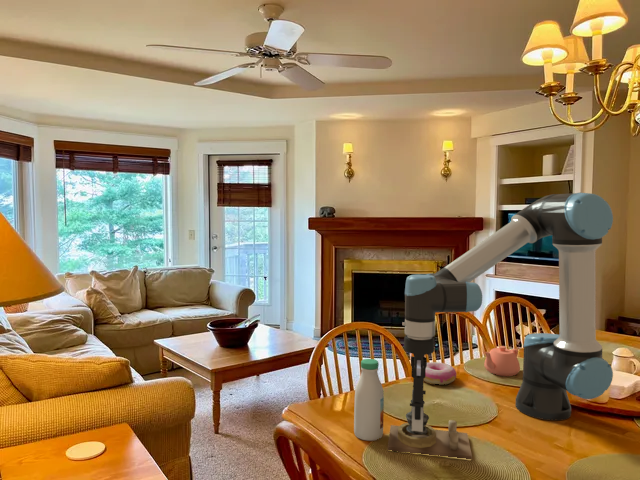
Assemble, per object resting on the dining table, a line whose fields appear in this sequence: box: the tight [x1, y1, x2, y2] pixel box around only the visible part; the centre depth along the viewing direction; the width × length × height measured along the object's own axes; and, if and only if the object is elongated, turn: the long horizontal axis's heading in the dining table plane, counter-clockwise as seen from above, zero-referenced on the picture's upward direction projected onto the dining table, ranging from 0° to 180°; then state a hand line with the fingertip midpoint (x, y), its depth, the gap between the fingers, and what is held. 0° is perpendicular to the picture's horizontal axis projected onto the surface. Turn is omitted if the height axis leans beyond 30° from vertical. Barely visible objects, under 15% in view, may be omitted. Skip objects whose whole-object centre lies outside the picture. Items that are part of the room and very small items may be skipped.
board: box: [387, 419, 473, 460], centre depth 121 cm, size 20×12×5 cm, turn 78°
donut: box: [424, 361, 457, 386], centre depth 168 cm, size 14×13×5 cm
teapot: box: [483, 345, 521, 377], centre depth 176 cm, size 12×18×10 cm
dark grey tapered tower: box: [405, 389, 430, 435], centre depth 121 cm, size 6×6×12 cm
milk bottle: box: [353, 358, 385, 442], centre depth 125 cm, size 8×8×20 cm
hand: (417, 424), depth 121 cm, fingers closed on dark grey tapered tower, 6 cm apart
